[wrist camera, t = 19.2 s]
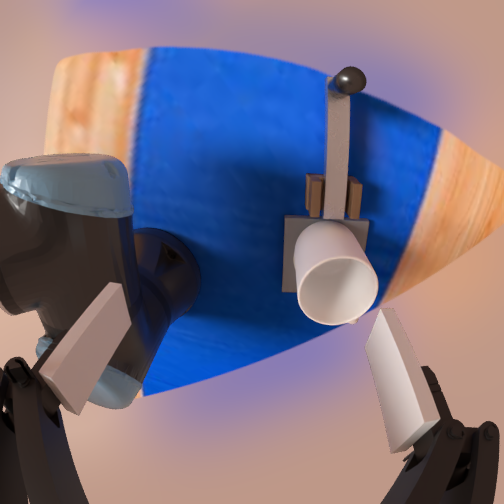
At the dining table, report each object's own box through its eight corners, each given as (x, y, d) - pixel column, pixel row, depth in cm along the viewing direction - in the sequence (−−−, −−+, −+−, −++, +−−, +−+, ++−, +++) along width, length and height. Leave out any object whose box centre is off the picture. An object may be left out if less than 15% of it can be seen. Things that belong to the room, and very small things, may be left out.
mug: (370, 281, 36) (392, 328, 27) (319, 303, 39) (327, 355, 29) (342, 207, 32) (364, 241, 23) (282, 235, 34) (283, 278, 25)
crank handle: (321, 213, 32) (332, 240, 25) (324, 79, 25) (338, 64, 18) (340, 214, 31) (356, 240, 24) (345, 81, 24) (365, 68, 17)
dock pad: (282, 287, 39) (281, 292, 38) (284, 214, 35) (285, 218, 33) (354, 288, 38) (356, 293, 37) (366, 218, 34) (369, 221, 32)
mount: (304, 204, 34) (308, 217, 29) (306, 173, 32) (310, 181, 27) (350, 206, 33) (360, 219, 29) (352, 176, 31) (364, 184, 27)
